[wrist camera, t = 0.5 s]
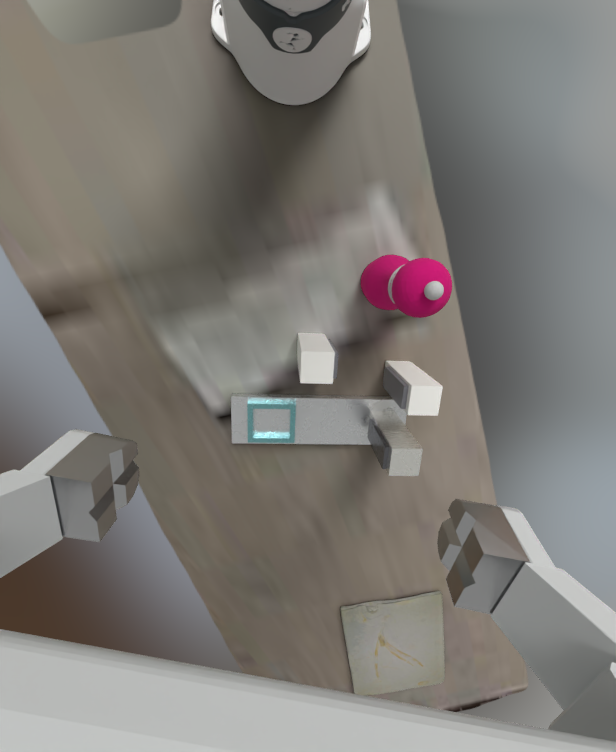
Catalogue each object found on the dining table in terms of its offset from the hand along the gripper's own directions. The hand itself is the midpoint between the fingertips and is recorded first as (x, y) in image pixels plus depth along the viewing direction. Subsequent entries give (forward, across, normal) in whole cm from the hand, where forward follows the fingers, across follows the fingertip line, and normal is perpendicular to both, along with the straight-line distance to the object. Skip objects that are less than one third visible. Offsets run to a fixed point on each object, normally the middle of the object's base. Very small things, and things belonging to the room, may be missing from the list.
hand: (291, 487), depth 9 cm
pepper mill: (+46, -8, +2) cm, 47 cm away
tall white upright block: (+44, +1, +13) cm, 45 cm away
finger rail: (+42, -3, +24) cm, 49 cm away
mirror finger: (+45, -14, +15) cm, 49 cm away
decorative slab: (+38, -28, +73) cm, 87 cm away
